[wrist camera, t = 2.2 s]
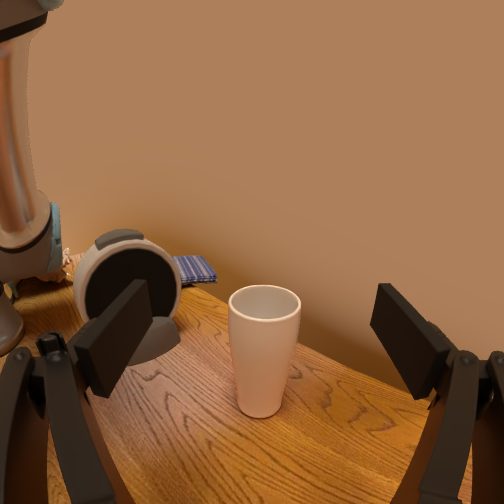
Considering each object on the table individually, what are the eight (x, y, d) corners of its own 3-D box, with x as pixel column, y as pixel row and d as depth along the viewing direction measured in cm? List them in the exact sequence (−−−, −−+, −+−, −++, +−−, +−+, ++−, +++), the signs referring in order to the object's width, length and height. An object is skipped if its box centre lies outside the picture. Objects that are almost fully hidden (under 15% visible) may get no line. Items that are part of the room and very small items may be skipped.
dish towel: (111, 285, 51) (112, 297, 51) (219, 275, 60) (219, 286, 61) (115, 259, 66) (116, 269, 66) (201, 252, 75) (201, 262, 76)
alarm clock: (103, 378, 31) (66, 255, 25) (87, 340, 38) (60, 236, 32) (196, 340, 42) (187, 228, 35) (166, 313, 49) (156, 215, 42)
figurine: (45, 278, 67) (54, 264, 72) (68, 267, 66) (77, 252, 72) (37, 268, 64) (46, 253, 70) (59, 255, 63) (69, 241, 69)
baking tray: (-14, 249, 50) (-10, 231, 50) (40, 264, 69) (44, 248, 70) (1, 276, 37) (7, 250, 38) (78, 292, 57) (83, 271, 57)
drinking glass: (244, 432, 26) (245, 329, 21) (223, 393, 31) (217, 290, 26) (297, 412, 28) (317, 309, 23) (271, 378, 34) (279, 279, 29)
